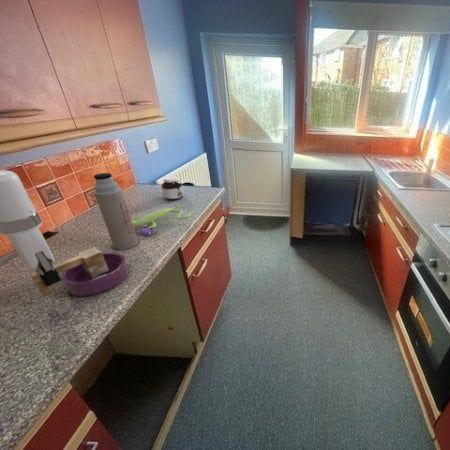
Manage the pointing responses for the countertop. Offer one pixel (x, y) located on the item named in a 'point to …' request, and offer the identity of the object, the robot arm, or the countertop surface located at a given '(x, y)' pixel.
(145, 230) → the figurine
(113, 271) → the bowl
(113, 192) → the thermos bottle
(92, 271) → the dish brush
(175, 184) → the spread jar
